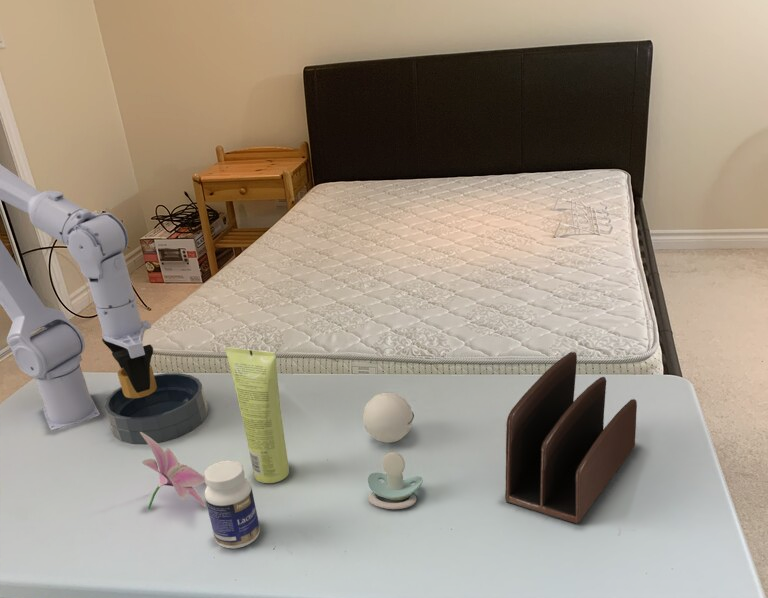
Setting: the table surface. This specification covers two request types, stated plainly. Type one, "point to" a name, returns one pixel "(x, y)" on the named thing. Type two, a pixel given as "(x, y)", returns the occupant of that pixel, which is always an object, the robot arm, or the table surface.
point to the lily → (173, 472)
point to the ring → (128, 387)
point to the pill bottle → (231, 505)
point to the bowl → (158, 410)
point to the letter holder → (564, 444)
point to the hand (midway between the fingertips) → (138, 383)
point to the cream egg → (388, 417)
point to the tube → (260, 411)
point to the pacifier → (393, 484)
